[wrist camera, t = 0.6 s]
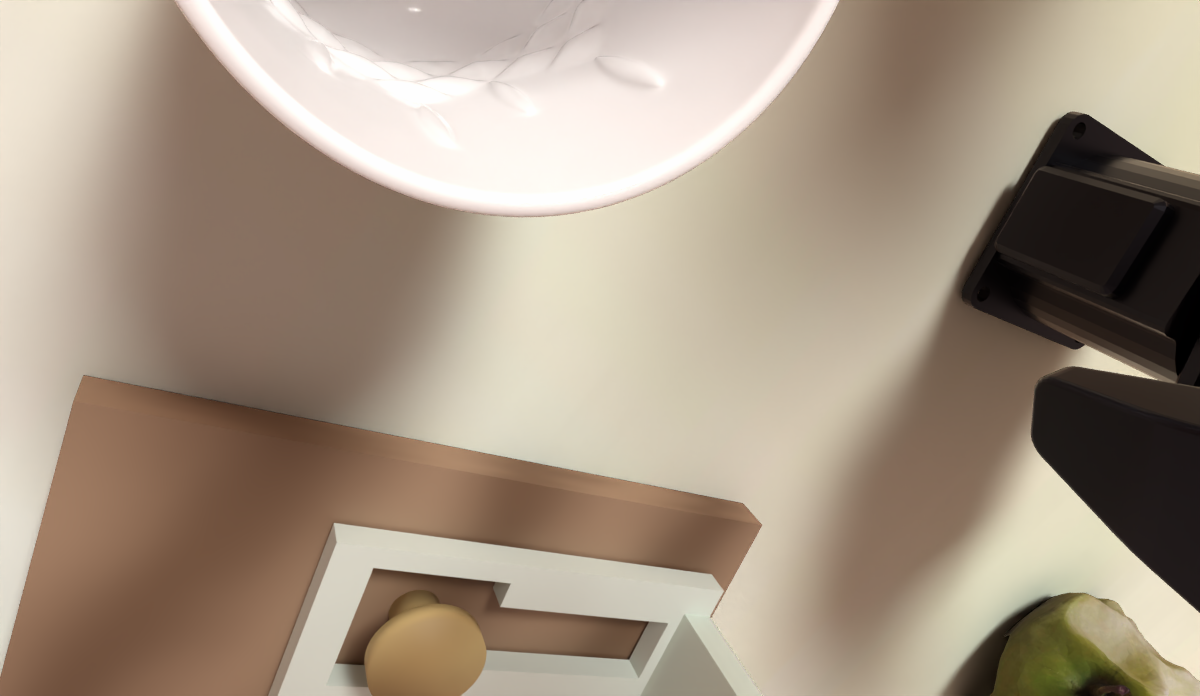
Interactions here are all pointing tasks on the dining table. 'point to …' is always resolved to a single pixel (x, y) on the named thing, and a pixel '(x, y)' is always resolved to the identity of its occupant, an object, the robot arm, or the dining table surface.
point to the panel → (533, 582)
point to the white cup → (514, 88)
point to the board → (309, 550)
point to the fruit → (1085, 654)
